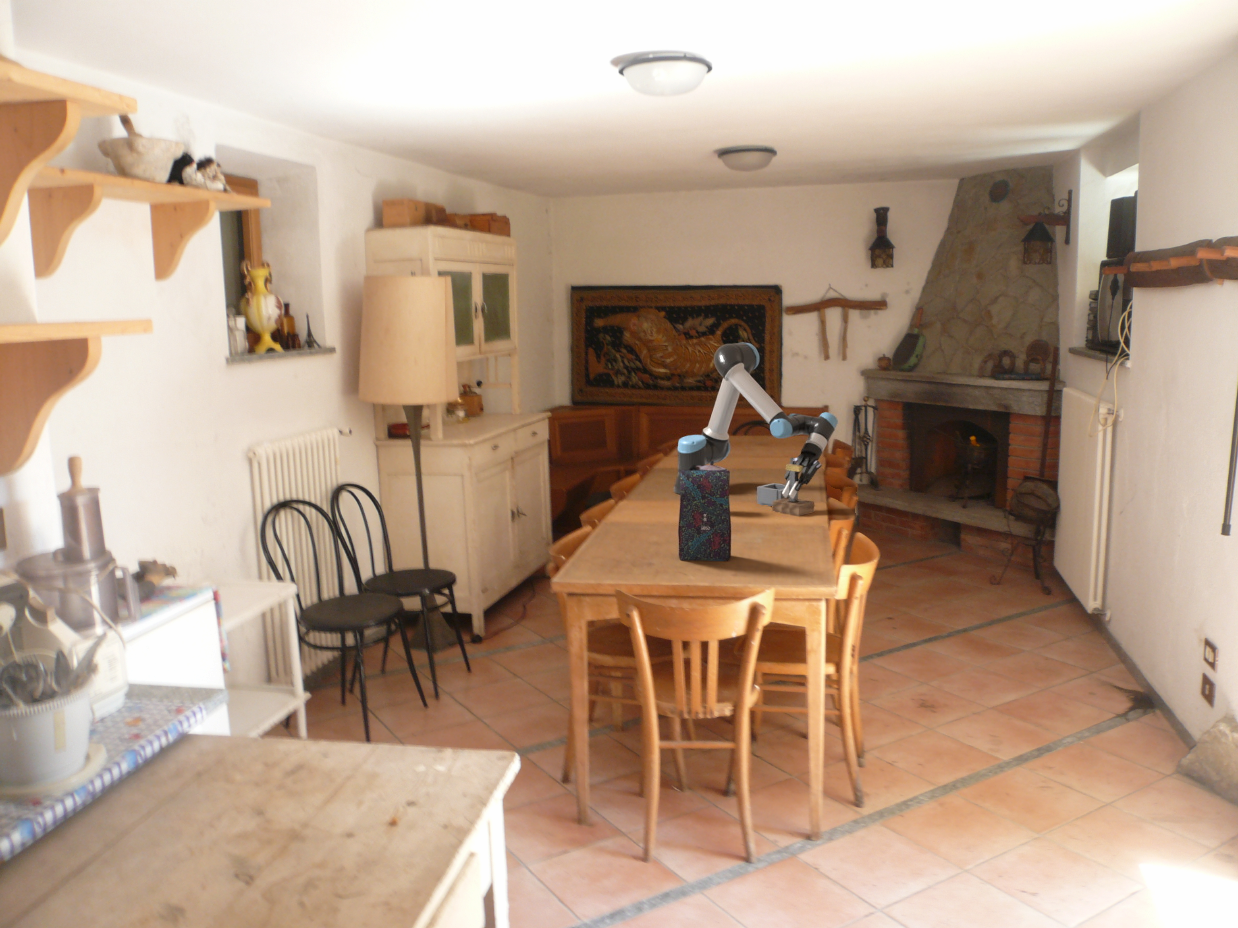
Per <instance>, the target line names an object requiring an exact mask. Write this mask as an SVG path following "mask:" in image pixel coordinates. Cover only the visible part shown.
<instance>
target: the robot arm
mask: <svg viewBox="0 0 1238 928" xmlns="http://www.w3.org/2000/svg"><path fill="white" fill-rule="evenodd" d="M713 357H714V358H713V363H714V367H715V369H716V370H717V372H718V373H719V375H720V376H721V377H722V381H721V385H720V388H719V390H718V392H717V396H716V399H715V402H714V406H713V410H712V413H711V416H710V419H709V421H708V425H707V426H706V427H705V428H703V429H702V432H701V434H691V435H686V436H683V437H681V438H679V439H678V444H677V445H678V446H677V476H676V480H675V483H674V486H673V492H674V493H675V494H677V495H678V494H679V495H680V472H681V470H689V469H690V467H692V466H693V465H696V466H706V465H710V461H714V464H717V463H719V462H722V461H723V460H725V459H726V458H727V457H728V456H729V454H730V451H731V444H730V435H729V433H728V431H729V427H730V424H731V421H732V418H733V415H734V412H735V409H736V406H737V404H738V400H739V397H740V394H741V395H742V397H744V398H745V400H746V401H747V402H748V403H749V404H750V405H751V406H752V407H753V408H754V410H755V411H756V412H757V413H758V414H759V415H760V416H761V418H763V419H764V421H765V422H766V423H767V424H768V425H769V430H770V433H771V435H772V436H773V437H774V438H776V439H786V438H787V439H788V438H790V437H795V436H800V435H806V436H808V437H807V439H806V440H805V443H804V445H803V447H802V448H801V450H800V454H799V455H798V456H797V457H795V458H794V457H791V458H789V459H790V461H789V464H794V465H801V466H803V471H800V472H799V474H800V476H799V477H798V481H796V482H795V484H794V486H793V487H792V489H791V491H790V493H789V476H790V470H786V471H785V475H784V479H785V480H786V482H785V484H784V485H785V486H784V487H785V489H784V490H783V492H782V495H783V496H784V497H785V498H787V496H788V494H789V496H790V497H791V499H793V498H794V497H795V495H796V493H797V491H798V492H800V490H801V488H802V486H803V485H808V484H809V483H810V482H811V480H812V479H813V477H814V476H815V474H816V473H817V471H818V470H819V469H820V468H822V464H821V462H820V461H819V460H820V458H821V456H822V454H823V452H824V451H825V448H826V447H827V445H828V443H829V440H830V439H831V437H832V436H833V433H834V432H835V431H836V428H837V426H838V423H839V421H838V419H837V417H836V415H834V414H833V413H830V412H828V411H825V412H822V413H820V415H819V416H818V417H817V416H811V415H805V414H801V413H790V414H789V415H787V414H786V413H785V411H783V409H782V408H781V407H780V406H779V405H778V404H777V403H776V402H775V401H774V400H773V399H772V397H771V396H770V395H769V394H768V393H767V392H766V391H765V390H764V389H763V388H762V387H761V385H760V384H759V383H758V382H757V381H756V380H755V379H754V378H753V377H752V376H751V372H752V371H754V370H755V369H756V368H757V367H758V366H759V363H760V354H759V352H758V350H757V348H756V346H754V345H753V344H752V343H749V342H738V343H736V342H735V343H725V344H722V345H721V346H719V347H718V348H717V349H716V351H715V352H714V355H713ZM693 470H694V469H693Z"/></svg>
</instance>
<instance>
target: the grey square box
mask: <svg viewBox="0 0 1238 928" xmlns="http://www.w3.org/2000/svg"><path fill="white" fill-rule="evenodd" d="M784 486H785V484H784V483H783V484H782V483H776V482H775V483H774V482H772V483H769V484H764V485H759V486H756V502H757V505H758V504H760V506H764V505H768V506H767V507H769V506H773V501H775V500H779V499H783V498H785V497H784V496H783V495H782V492H783V490H784V489H785V487H784ZM787 497H789V494H788V496H787Z"/></svg>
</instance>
